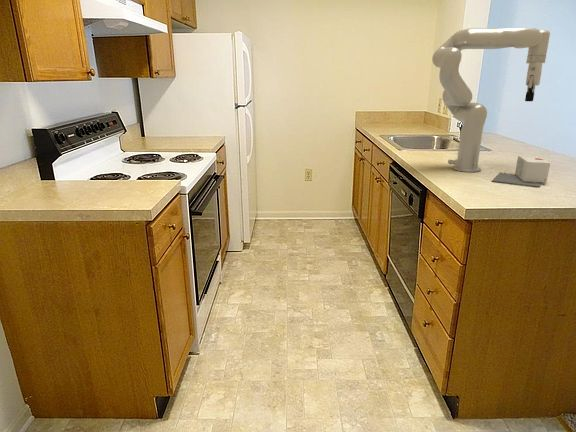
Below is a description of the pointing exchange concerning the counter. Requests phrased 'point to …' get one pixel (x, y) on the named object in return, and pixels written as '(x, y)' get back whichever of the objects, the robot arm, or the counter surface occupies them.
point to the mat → (513, 180)
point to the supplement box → (532, 169)
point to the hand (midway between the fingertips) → (528, 101)
